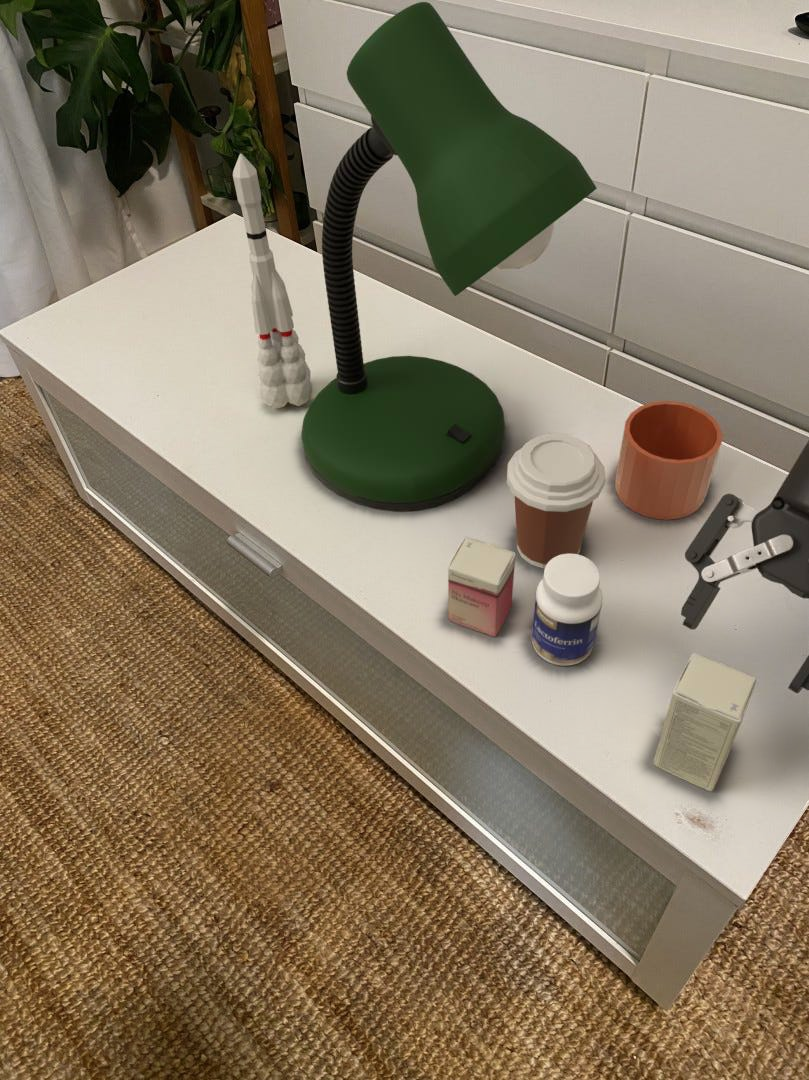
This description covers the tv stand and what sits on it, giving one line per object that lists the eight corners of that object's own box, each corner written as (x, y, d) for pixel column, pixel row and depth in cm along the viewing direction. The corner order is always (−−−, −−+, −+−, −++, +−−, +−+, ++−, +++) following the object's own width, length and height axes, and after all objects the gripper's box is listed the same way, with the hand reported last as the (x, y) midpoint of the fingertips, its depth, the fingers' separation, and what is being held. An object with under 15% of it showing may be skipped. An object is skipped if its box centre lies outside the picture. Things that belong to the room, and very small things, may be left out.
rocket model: (330, 392, 106) (293, 148, 84) (290, 425, 102) (240, 178, 80) (286, 372, 109) (239, 132, 87) (246, 403, 105) (186, 160, 83)
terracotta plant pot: (717, 475, 93) (734, 417, 87) (688, 531, 87) (704, 474, 81) (634, 448, 96) (644, 391, 90) (601, 500, 91) (610, 444, 85)
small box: (447, 621, 82) (445, 567, 76) (465, 588, 84) (465, 534, 78) (496, 639, 80) (498, 585, 74) (513, 605, 82) (517, 551, 76)
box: (729, 752, 71) (763, 679, 63) (711, 794, 69) (744, 724, 60) (668, 723, 73) (693, 649, 65) (648, 763, 71) (672, 691, 62)
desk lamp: (603, 451, 96) (674, -7, 63) (486, 577, 85) (498, 101, 51) (390, 357, 110) (356, -59, 76) (266, 455, 99) (163, 17, 65)
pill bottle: (523, 657, 78) (528, 589, 71) (540, 610, 82) (547, 540, 74) (585, 675, 77) (597, 608, 69) (600, 627, 80) (613, 557, 73)
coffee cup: (562, 594, 83) (573, 507, 74) (485, 551, 87) (487, 464, 78) (611, 538, 87) (627, 450, 78) (536, 500, 92) (543, 412, 83)
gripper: (756, 412, 61) (642, 608, 64) (966, 505, 54) (826, 719, 57) (773, 431, 67) (669, 608, 71) (962, 516, 60) (837, 708, 64)
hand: (739, 657), depth 64 cm, fingers open, 8 cm apart
